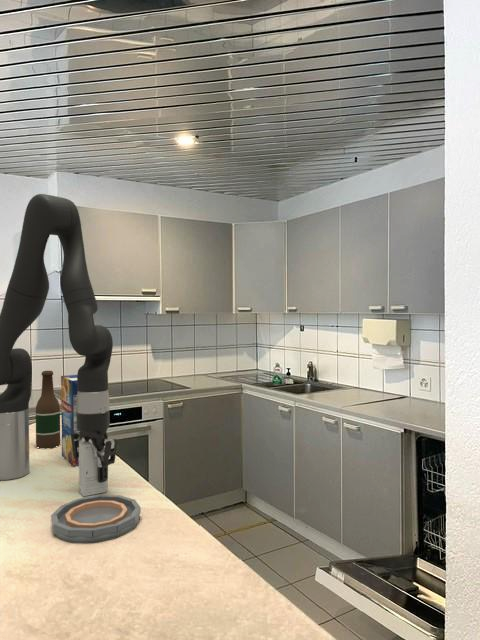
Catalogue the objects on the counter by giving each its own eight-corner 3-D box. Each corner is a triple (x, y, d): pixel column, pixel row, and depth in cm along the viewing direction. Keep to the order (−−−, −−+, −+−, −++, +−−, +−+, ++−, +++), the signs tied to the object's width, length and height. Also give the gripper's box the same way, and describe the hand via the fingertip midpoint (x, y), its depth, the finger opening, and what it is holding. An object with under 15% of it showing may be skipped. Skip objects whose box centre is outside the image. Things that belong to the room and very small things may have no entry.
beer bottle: (55, 449, 149) (54, 372, 149) (30, 449, 150) (29, 372, 149) (65, 442, 157) (64, 369, 157) (41, 442, 157) (40, 369, 157)
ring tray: (34, 528, 96) (34, 516, 95) (101, 499, 110) (101, 489, 110) (91, 551, 86) (91, 538, 86) (156, 517, 101) (156, 505, 100)
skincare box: (83, 497, 111) (82, 445, 111) (78, 491, 115) (77, 441, 115) (109, 491, 115) (109, 441, 114) (103, 485, 118) (103, 437, 118)
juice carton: (61, 456, 142) (60, 375, 142) (87, 452, 147) (86, 373, 146) (73, 467, 132) (72, 380, 132) (99, 462, 137) (99, 378, 136)
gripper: (60, 408, 115) (61, 478, 116) (101, 415, 107) (101, 490, 108) (85, 403, 121) (86, 469, 122) (126, 409, 114) (126, 480, 114)
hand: (93, 478), depth 115 cm, fingers closed on skincare box, 5 cm apart
